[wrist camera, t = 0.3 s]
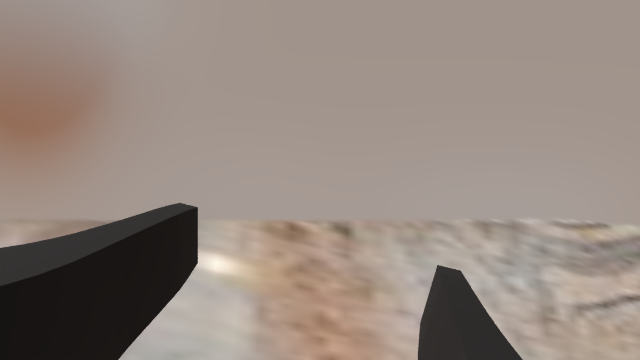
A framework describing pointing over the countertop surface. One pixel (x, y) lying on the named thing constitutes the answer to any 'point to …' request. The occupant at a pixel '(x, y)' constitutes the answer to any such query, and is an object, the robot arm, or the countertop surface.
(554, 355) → the countertop surface
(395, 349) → the countertop surface
